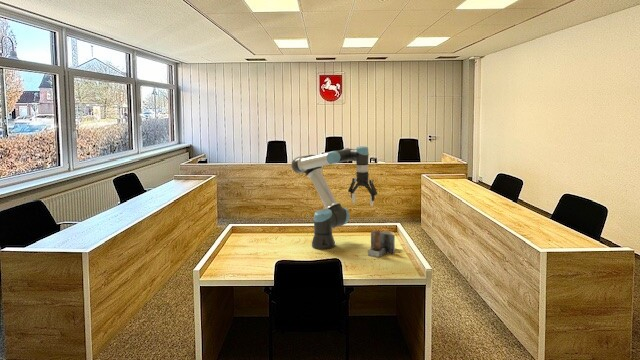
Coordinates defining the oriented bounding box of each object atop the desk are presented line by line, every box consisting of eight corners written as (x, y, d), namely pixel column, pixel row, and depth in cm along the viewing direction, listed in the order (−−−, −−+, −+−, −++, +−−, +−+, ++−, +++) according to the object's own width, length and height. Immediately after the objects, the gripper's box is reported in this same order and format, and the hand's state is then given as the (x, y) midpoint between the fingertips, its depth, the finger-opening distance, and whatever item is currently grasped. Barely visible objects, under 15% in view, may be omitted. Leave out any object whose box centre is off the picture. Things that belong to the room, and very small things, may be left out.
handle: (372, 253, 327) (372, 231, 324) (375, 251, 330) (375, 229, 327) (377, 254, 324) (377, 232, 322) (381, 252, 327) (381, 230, 325)
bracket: (362, 253, 329) (362, 235, 327) (372, 249, 338) (372, 230, 336) (384, 258, 319) (384, 239, 317) (394, 253, 329) (394, 234, 326)
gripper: (342, 170, 336) (342, 203, 340) (376, 173, 321) (376, 208, 325) (349, 168, 342) (349, 201, 345) (382, 172, 327) (382, 205, 331)
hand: (362, 204), depth 335 cm, fingers open, 13 cm apart
